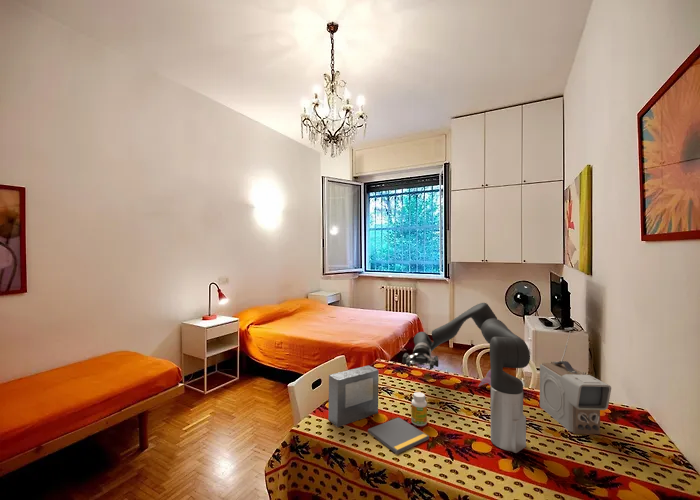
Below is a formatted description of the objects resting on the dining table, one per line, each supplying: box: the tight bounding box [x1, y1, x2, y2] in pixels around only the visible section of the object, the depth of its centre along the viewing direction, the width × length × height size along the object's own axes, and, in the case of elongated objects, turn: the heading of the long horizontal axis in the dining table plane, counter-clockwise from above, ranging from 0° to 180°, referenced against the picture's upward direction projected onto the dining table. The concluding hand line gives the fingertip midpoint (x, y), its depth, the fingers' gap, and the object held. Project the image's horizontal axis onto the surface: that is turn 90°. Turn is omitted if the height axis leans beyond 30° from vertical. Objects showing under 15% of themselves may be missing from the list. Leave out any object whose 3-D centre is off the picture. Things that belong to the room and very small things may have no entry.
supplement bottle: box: [410, 391, 428, 427], centre depth 112 cm, size 5×5×10 cm
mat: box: [367, 417, 430, 455], centre depth 104 cm, size 14×14×1 cm
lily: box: [477, 369, 491, 387], centre depth 140 cm, size 12×12×10 cm
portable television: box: [539, 331, 612, 435], centre depth 114 cm, size 12×24×30 cm, turn 178°
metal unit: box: [327, 364, 379, 428], centre depth 116 cm, size 7×18×16 cm, turn 124°
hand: (419, 365), depth 124 cm, fingers open, 8 cm apart
